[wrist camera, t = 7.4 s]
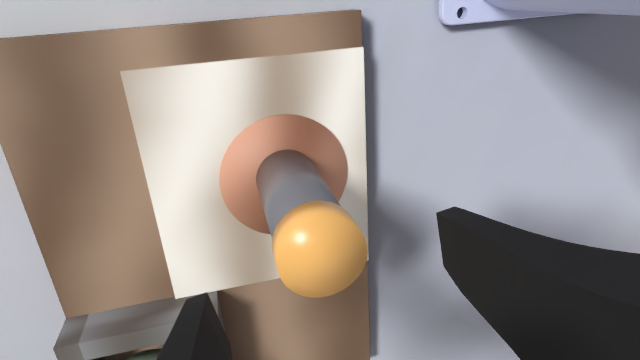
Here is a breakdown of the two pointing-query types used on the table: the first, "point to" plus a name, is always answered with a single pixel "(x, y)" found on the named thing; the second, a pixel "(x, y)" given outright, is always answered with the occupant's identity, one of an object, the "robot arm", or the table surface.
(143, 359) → the button
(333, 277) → the grey and orange cylinder
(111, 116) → the drawing board
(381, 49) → the table surface
